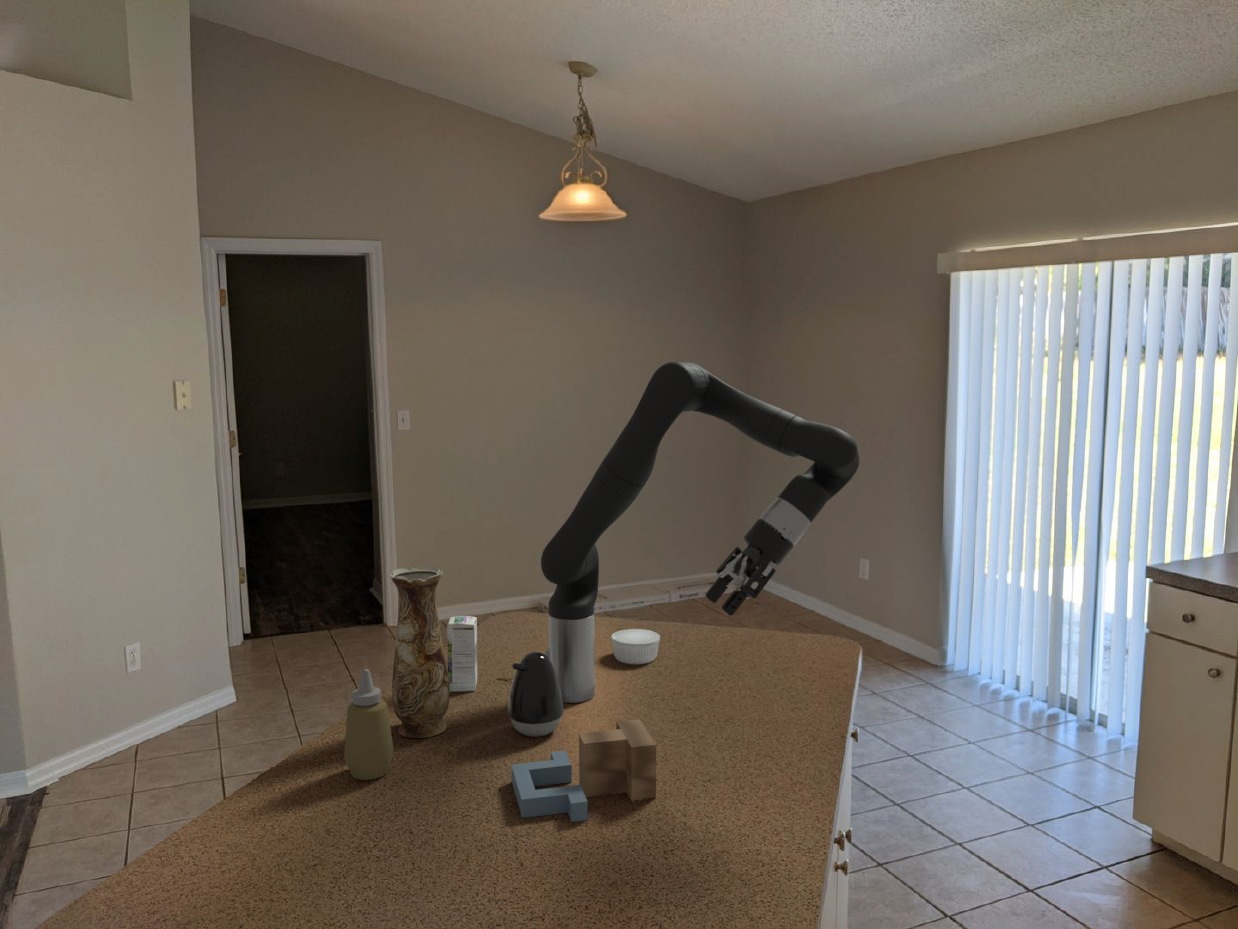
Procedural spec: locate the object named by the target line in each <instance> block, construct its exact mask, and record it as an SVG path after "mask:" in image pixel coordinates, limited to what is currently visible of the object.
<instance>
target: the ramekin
mask: <svg viewBox="0 0 1238 929" xmlns="http://www.w3.org/2000/svg"><path fill="white" fill-rule="evenodd" d="M610 641H611V642H612V643H611V644H612V650H613V655H614V657H615V659H616V660H617V661H618V662H620V663H623V664H627V665H646V664H650V663H651V662H653V661H654V660H655V659H656V658H657V655H658V651H659V645H660V644H659V643H660V641H661V636H660V634H659V633H657V632H656V631H653V630H648V629H642V628H629V629H623V630H619V631H618V630H617V631H616V632H614V633H612V634H611V637H610Z"/></svg>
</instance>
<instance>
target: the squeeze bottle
mask: <svg viewBox="0 0 1238 929" xmlns="http://www.w3.org/2000/svg"><path fill="white" fill-rule="evenodd" d="M373 682H374V681H373V679H372V675H371V672H370V669H368V668H366V669H362V671H361V675H360V680H359V686H358V688H357V689H355V690H353V691H352V695H351V696H352V702H351V703H350V704H349V705H347V707H346V709H347V710H346V711H347V712H346V724H345V737H344V738H345V741H344V754H343V755H344V756H343V757H344V760H345V762H346V765H347V767H348V770H349V772H350V775H351V776H352V777H353V778H354V779H356V780H359V781H371V780H372V781H373V780H375V779H378V778H382V777H384V776H385V775H386V774H387V773H388V771H389V768H390V763H391V761H392V758H393V754H394V745H393V744H394V742H393V737H392V730H391V724H390V722H391V721H390V718H389V717H390V715H389V710H388V703H387V702H386V701H385V700H383V699H382V691H381V688H379V687H376V686H374V683H373Z"/></svg>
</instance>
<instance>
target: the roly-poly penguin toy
mask: <svg viewBox="0 0 1238 929" xmlns="http://www.w3.org/2000/svg"><path fill="white" fill-rule="evenodd" d="M512 669H513V670H516V671H515V674H514V676H513V678H512V679H513V680H512V683H511V687H510V693H509V700H508V705H507V706H508V709H507V711H508V712H507V714H508V717H509V718H510V720H511V723H512V725H513V727H514V729H515V730H516V731H518V732H519V733H520V734H522V735H524V736H527V737H535V738H537V737H543V736H546V735H549V734H551V733H552V732H553V731H555V730H556V729H557V727H558V726H559V724H560V722H561V719H562V716H563V714H564V702H563V699H562V693H561V688H560V684H559V681H558V677H557V675H556V672H555V669H554V667H553V665H552V663H551V661H550V660H549V658H548V657H547V656H546V655H545V653H543V652H541V651H531V652H529V653H527V654H526V655H524V656H523V657H522V659H521V660H520V662H514V663H513V664H512Z"/></svg>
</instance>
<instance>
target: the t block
mask: <svg viewBox="0 0 1238 929" xmlns="http://www.w3.org/2000/svg"><path fill="white" fill-rule="evenodd" d="M615 722H616V724H615V726H616V729H610V730H609V729H608V730H600V731H591V732H581V733H578V774H579V775H578V783H579V784H578V785H581V788H582V790H583V792H584V795H585V797H586V798H591V797H592V796H593V797H600V796H608V794H609V795H616V793H618V794H624V793H623V792H626V793H628V794H627V795H628V797H629V800H630V801H631V802H636V801H635V800H638V801H642V800H641V799H646V800H649V799H648V798H651V799H650V800H653V799H652V798H655V799H657V744H656V742H655V740H654V739H653V737H652V735H650V733H649V731H648V730H647V728H646V727H645V726H644V724H643V723H642V721H641V719H631V720H630V719H629V720H622V721H621V720H619V721H615Z"/></svg>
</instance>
